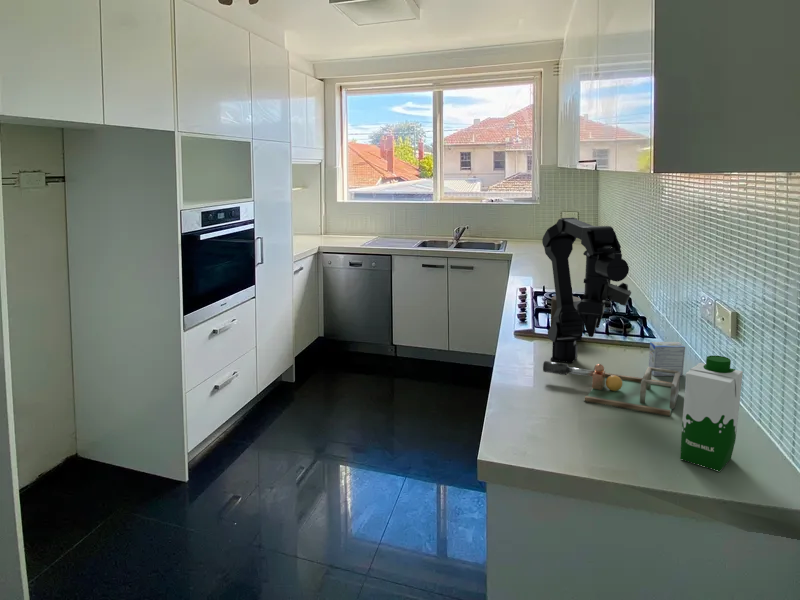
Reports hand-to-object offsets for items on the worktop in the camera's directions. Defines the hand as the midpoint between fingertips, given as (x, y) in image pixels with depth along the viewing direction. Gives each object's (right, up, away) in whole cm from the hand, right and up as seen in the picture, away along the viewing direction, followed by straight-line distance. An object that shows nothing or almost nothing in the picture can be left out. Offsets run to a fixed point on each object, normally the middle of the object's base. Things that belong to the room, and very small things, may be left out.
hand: (593, 332), depth 148 cm
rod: (-6, -14, -1) cm, 15 cm away
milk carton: (+7, -23, -40) cm, 47 cm away
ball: (+3, -13, -6) cm, 15 cm away
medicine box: (+22, -12, +6) cm, 26 cm away
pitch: (+7, -15, -8) cm, 19 cm away
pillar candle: (+5, -4, +43) cm, 44 cm away
